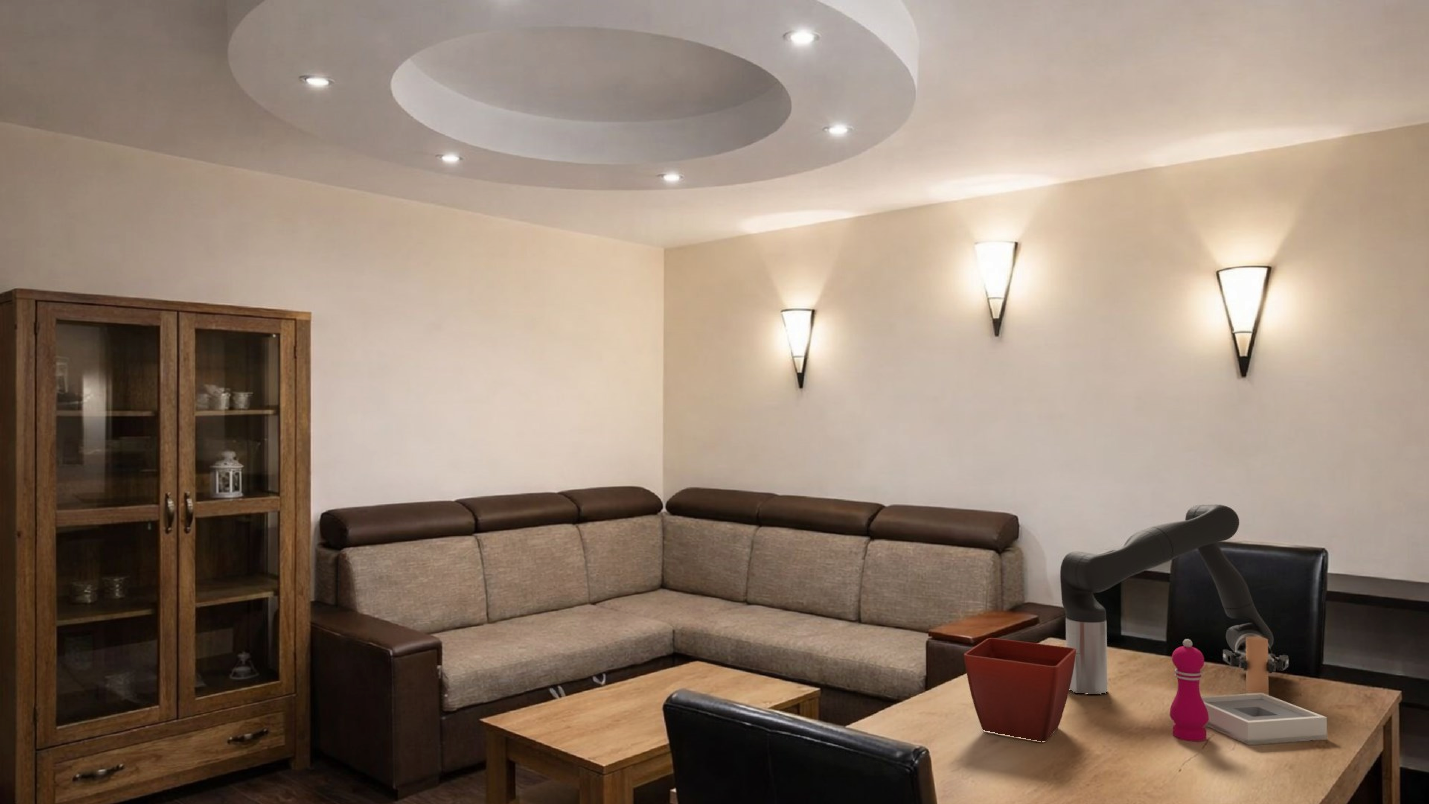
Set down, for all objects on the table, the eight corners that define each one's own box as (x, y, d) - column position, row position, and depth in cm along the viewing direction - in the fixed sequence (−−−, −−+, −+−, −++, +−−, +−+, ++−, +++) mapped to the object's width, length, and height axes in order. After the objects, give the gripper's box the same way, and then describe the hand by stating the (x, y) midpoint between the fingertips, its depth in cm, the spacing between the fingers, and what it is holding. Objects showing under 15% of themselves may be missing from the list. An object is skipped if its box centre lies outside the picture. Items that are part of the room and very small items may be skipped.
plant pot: (1078, 725, 203) (1077, 647, 204) (1058, 752, 187) (1056, 666, 188) (989, 712, 214) (988, 636, 214) (963, 735, 198) (962, 654, 198)
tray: (1248, 745, 190) (1247, 722, 190) (1189, 717, 208) (1188, 697, 208) (1327, 739, 193) (1326, 717, 193) (1262, 713, 211) (1261, 692, 211)
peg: (1256, 703, 215) (1255, 641, 215) (1242, 697, 219) (1241, 636, 220) (1273, 702, 216) (1272, 640, 216) (1259, 696, 220) (1258, 636, 220)
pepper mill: (1206, 732, 198) (1204, 636, 199) (1212, 743, 191) (1209, 644, 192) (1168, 729, 201) (1166, 634, 201) (1172, 740, 194) (1170, 641, 194)
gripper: (1219, 632, 234) (1222, 647, 219) (1287, 638, 228) (1294, 654, 212) (1220, 663, 234) (1222, 680, 218) (1287, 670, 227) (1294, 687, 212)
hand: (1258, 667), depth 215 cm, fingers closed on peg, 4 cm apart
